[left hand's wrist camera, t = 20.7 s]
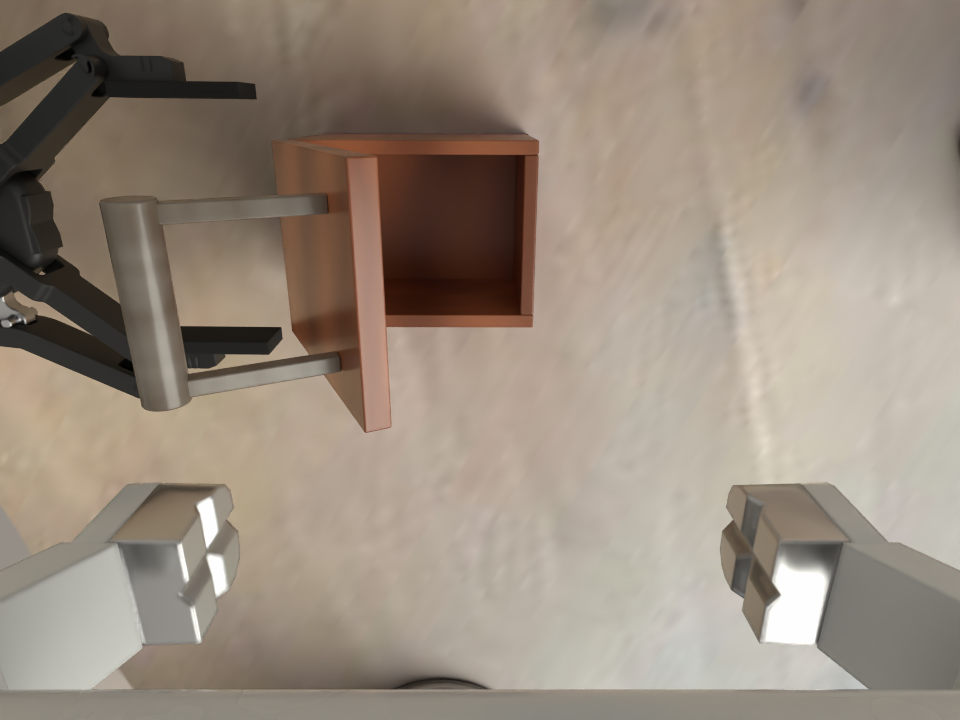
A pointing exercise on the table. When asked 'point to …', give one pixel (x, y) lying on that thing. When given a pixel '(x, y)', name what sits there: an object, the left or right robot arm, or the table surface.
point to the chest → (454, 225)
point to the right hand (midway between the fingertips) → (263, 224)
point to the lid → (309, 271)
